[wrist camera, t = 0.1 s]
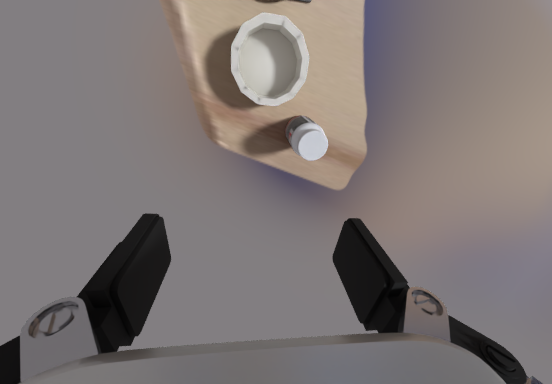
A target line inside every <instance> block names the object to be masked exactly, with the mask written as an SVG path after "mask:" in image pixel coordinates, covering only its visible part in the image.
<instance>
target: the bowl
mask: <svg viewBox="0 0 552 384" xmlns="http://www.w3.org/2000/svg"><path fill="white" fill-rule="evenodd" d="M308 63H309V53H308V50H307V47H306V43H305V40H304V36H303V33H302V32H301V31H300V30H299V29H298V28H297V27H296V26H295V25H294V24H293V23H292V22H291V21H290V20H289V19H288V18H287V17H286V16H282V15H276V14H270V13H264V12H263V13H261V14H259V15H257V16H255V17H254V18H252V19H250V20H248V21H246V22H245V23H243V24H242V26H241V28H240V30H239V32H238V34H237V35H236V37H235V39H234V41H233V43H232V45H231V72H232V74H233V76H234V78H235V80H236V82H237V84H238V86H239V88H240V91H241V92H242V93H243V94H245V95H246V96H247V97H249V98H250V99H251V100H253V101H254V102H255V103H257V104H260V105H269V106H278V105H280V104H282V103H284V102H286V101H288V100H290V99H292V98H293V97H295V95H296V94H297V92H298V91H299V89H300V88H301V86H302V85H303V84H304V82H305V81H306V76H307V70H308Z"/></svg>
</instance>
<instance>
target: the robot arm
mask: <svg viewBox="0 0 552 384" xmlns="http://www.w3.org/2000/svg"><path fill="white" fill-rule="evenodd" d="M170 262H171V254H170V249H169V244H168V240H167V235H166V230H165V226H164V220H163V218H162V217H159V215H158V214H143V215H142V217H141V218H140V219H139V220H138V222H137V223H136V224H135V226H134V227H133V228H132V230H131V231H130V232H129V234H128V235H127V236H126V237H125V239H124V240H123V241H122V242H120V243H119V244H118V245H117V246H116V247H115V249H114V250H113V251H112V252H111V254H110V255H109V256H108V257H107V259H106V260H105V261H104V263H103V264H102V265H101V266H100V268H99V269H98V270H97V272H96V273H95V274H94V275H93V277H92V278H91V279H90V280H89V282H88V283H87V285H86V286H85V287H84V288H83V289H82V291H81V292H80V293H79V295H78V296H77V297H68V298H62V299H59V300H57V301H54V302H52V303H50V304H48V305H46V306H45V307H43V308H41V309H40V310H39V311H37V312H36V313H34V314H33V315H32V316H31V318H29V319H28V320H27V321H26V323H25V325H24V326H23V328H22V330H21V334H20V336H18V337H16V338H14V339H12V340H11V341H9V342H7V343H5V344H3V345H1V346H0V384H542V383H541V382H540V381H538V380H537V379H536V378H534V377H533V376H532V377H530V378H529V377H527V376H526V373H525V371H524V369H523V367H522V366H521V364H520V363H519V362H518V360H517V359H516V358H515V357H514V356H513V355H512V354H511V353H510V352H509V351H507V350H506V349H505V348H504V347H502V346H501V345H499V344H498V343H496V342H495V341H493V340H491V339H489V338H487V337H486V336H484V335H482V334H481V333H479V332H477V331H475V330H474V329H472V328H470V327H468V326H467V325H465V324H463V323H461V322H460V321H458V320H456V319H454V318H453V317H451V316H449V315H448V312H447V308H446V307H445V305H444V303H443V302H442V301H441V300H440V299H439V298H438V297H437V296H436V295H434V294H433V293H432V292H430V291H428V290H426V289H424V288H421V287H411V288H409V286H408V285H407V283H408V282H407V281H406V279H405V278H404V276H403V275H402V274H401V273H400V272H399V270H398V269H397V267H396V266H395V265H394V263H393V262H392V261H391V259H390V258H389V257H388V255H387V254H386V253H385V251H384V250H383V249H382V247H381V246H380V245H379V243H378V242H377V241H376V239H375V238H374V237H373V235H372V234H371V233H370V231H369V230H368V229H367V228H366V226H365V225H364V223H363V222H362V221H361V220H360V219H358V218H349V219H348V220H347V221H345V222H344V225H343V227H342V230H341V233H340V236H339V239H338V242H337V245H336V248H335V251H334V253H333V263H334V265H335V267H336V269H337V272H338V274H339V276H340V279H341V281H342V283H343V285H344V287H345V290H346V292H347V295H348V297H349V299H350V301H351V304H352V306H353V308H354V311H355V313H356V315H357V318H358V320H359V321H360V323H363V325H364V327H365V329H366V331H369V330H377V331H378V333H373V334H352V335H335V336H318V337H302V338H286V339H271V340H256V341H243V342H226V343H212V344H198V345H184V346H170V347H159V348H148V349H137V350H126V351H119V352H117V350H118V348H119V346H131V344H132V342H133V340H134V337H135V336H138V335H139V334H140V332H141V331H142V328H143V326H144V324H145V321H146V319H147V316H148V314H149V311H150V309H151V307H152V305H153V302H154V300H155V298H156V295H157V293H158V291H159V288H160V286H161V284H162V281H163V279H164V277H165V274H166V272H167V269H168V267H169V265H170Z"/></svg>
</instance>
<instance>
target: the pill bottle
mask: <svg viewBox="0 0 552 384" xmlns="http://www.w3.org/2000/svg"><path fill="white" fill-rule="evenodd" d="M285 135H286V138H287V140H288V142H289V143H290V145H291V147H292V149H293V150H294V151H295V153H297V154H298V155H300V156H301V157H303V158H304V159H306V160H310V161H313V160H317V159H319V158H321V157H322V156H323V155H324V154H325V153H326V151H327V148H328V140H327V137H326V136H325V133H324V131H323V129H322V128H321V127H320V126H319V125H318V124H316V123H315V122H314V121H312V120H311V119H310V118H308V117H306V116H296V117H294V118H292V119H291V120H290V121H289V122H288V124H287V126H286V129H285Z"/></svg>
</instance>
